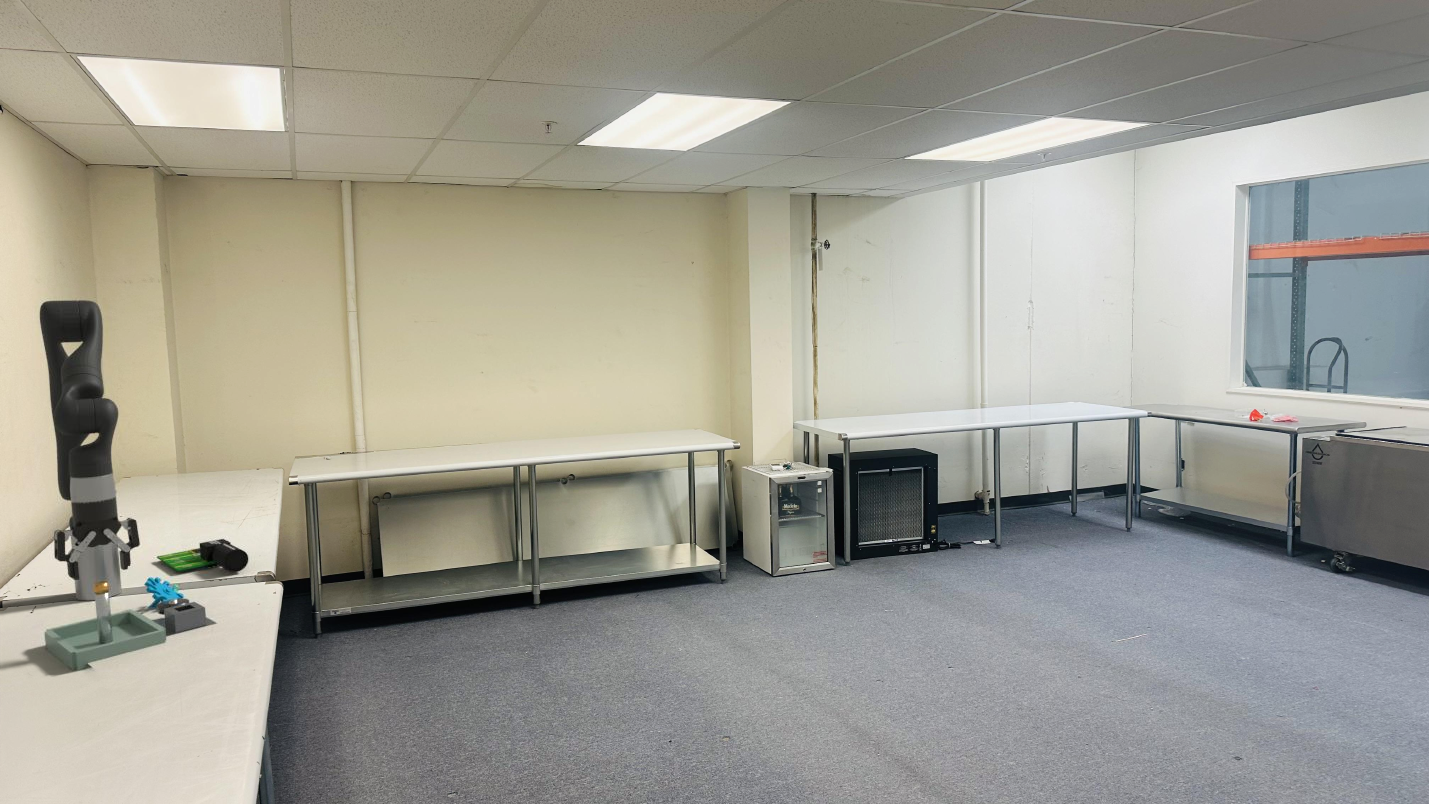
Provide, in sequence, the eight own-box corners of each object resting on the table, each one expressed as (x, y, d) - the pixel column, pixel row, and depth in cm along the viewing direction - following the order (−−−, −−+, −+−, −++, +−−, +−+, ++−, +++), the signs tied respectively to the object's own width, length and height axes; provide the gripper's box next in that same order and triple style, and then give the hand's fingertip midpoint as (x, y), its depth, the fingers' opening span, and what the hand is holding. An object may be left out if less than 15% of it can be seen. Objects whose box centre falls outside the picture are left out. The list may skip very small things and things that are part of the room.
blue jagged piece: (174, 608, 202) (141, 578, 201) (155, 627, 201) (121, 598, 200) (197, 599, 212) (165, 571, 212) (178, 617, 212) (146, 589, 211)
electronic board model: (155, 538, 245) (214, 527, 256) (157, 562, 245) (216, 551, 256) (189, 558, 224) (252, 545, 235) (191, 584, 225) (254, 571, 236)
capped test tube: (97, 642, 183) (91, 583, 182) (111, 638, 185) (106, 580, 183) (101, 645, 181) (95, 585, 180) (115, 641, 183) (110, 582, 182)
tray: (44, 646, 183) (42, 630, 183) (134, 624, 196) (133, 609, 196) (74, 671, 170) (72, 654, 170) (168, 646, 183) (167, 629, 182)
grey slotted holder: (144, 627, 194) (142, 602, 194) (194, 614, 202) (192, 591, 201) (166, 640, 186) (164, 615, 185) (217, 627, 193) (215, 603, 193)
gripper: (127, 488, 188) (133, 562, 189) (45, 500, 177) (53, 578, 179) (140, 493, 183) (146, 569, 185) (56, 505, 172) (64, 586, 174)
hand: (100, 574), depth 182 cm, fingers open, 8 cm apart
